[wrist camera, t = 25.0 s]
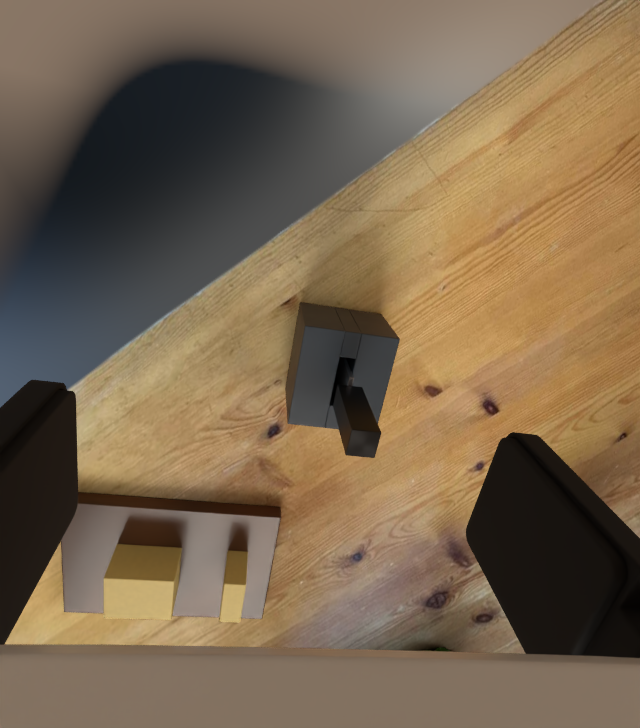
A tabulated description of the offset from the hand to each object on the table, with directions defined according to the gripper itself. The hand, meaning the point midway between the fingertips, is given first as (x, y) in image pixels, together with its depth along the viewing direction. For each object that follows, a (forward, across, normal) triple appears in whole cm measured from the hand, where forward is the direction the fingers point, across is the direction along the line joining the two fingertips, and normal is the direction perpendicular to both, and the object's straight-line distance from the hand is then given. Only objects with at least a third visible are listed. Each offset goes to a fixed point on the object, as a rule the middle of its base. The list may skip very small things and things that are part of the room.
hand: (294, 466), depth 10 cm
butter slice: (+27, 0, +32) cm, 42 cm away
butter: (+27, +8, +32) cm, 42 cm away
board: (+28, +6, +32) cm, 43 cm away
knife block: (+28, -6, +8) cm, 30 cm away
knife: (+28, -6, +8) cm, 30 cm away
